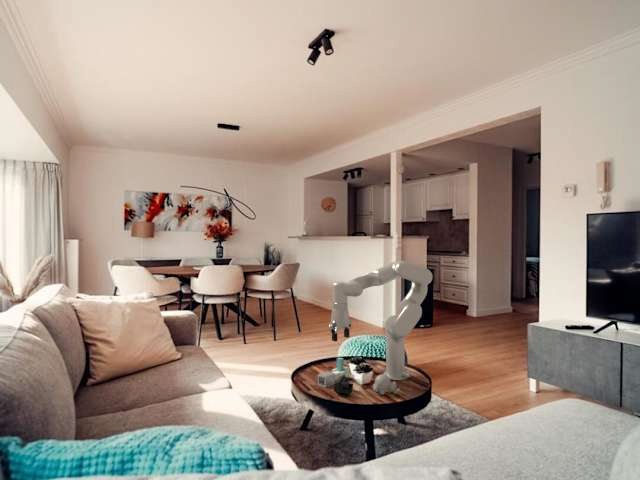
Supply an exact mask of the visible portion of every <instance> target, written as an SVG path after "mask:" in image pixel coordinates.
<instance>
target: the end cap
mask: <svg viewBox="0 0 640 480" xmlns="http://www.w3.org/2000/svg"><path fill="white" fill-rule="evenodd" d="M351 382H354V377H345V375H342V376H341V377H340V378H339V379H338V380H335V384H333V385H332V386H333V389H332V390H333V391H334V393H335V394H336V395H338V396H339V397H343V398H344V397H345V398H349V397H350V396H351V394H352V392H353V391H354V383H351Z"/></svg>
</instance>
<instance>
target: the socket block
mask: <svg viewBox="0 0 640 480" xmlns="http://www.w3.org/2000/svg"><path fill="white" fill-rule="evenodd" d="M350 370H351V369H350V367H348V366H344V371H342V372H340V377H341V376H342V375H345V377H350V376H351V371H350ZM335 371H337V367H336V368H333V369H331V372H335ZM337 380H338V379H337ZM337 380H336V381H337Z"/></svg>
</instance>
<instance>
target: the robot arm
mask: <svg viewBox="0 0 640 480" xmlns="http://www.w3.org/2000/svg"><path fill="white" fill-rule="evenodd" d="M398 278H402V279H404V280H407V281H410V282H411V287H410V289H409V291H408V293H407V294H406V296H405V297H404V298H403V300H402V301H401V302H400V303H399V305H398V308H397V310H398V312H399V315H396V314H395V315H390V316H388V317H387V318H386V320H385V322H384V329H385V358H386V359H385V360H386V361H385V364H386V366H385V367H386V368H385V371H384V372H383V373H382V374H384V375H387V376H388V377H389V379H390V381H391V380H392V381H404V380H407V379H408V378H411V376H412V375H411V374H412V372H410V371H407V368H406V367H405V354H406V353H405V348H406V347H405V345H406V344H405V338H406V337H407V336H408V335H409V334H410V333H411V331H412V330H413V329H414V327H415V326H416V325H417V323H418V322H419V321H420V319H421V318H422V314H423V309H422V306H421V304H422V303H423V301H424V300H425V299H426V296H427V293H428V289H429V288H428V285H429V284H430V283H431V282H432V281H433V273H432V272H431V270H430V269H428V268H425V267H422V266H419V265H417V264H413V263H411V262H408V261H405V260H395V261H393V262H391V263H388V264H386V265H384V266H381V267H379V268H378V269H375V270H372V271H370V272H368V273H365V274H362V275H360V276H356V277H355V278H353V279H351V280H349V281H348V282H347V283H346V282H343V281H336V282H333V284H332V310H331V315H330V316H331V317H330V323H329V324H328V329H329V331H330V333H331V341H332V342H338V333H337V332H338V330H342V329H343V337H344V338H347V339H349V338H350V330H351V327H352V322H353V320H351V319H350V314H349V308H348V305H349V304H348V297H355V298H357V297H359V296H361V295H362V294H363V291H364V290H365V289H369V288H372V287H379V286H384V285H386V284H388V283H390V282H392V281H394V280H397V279H398Z"/></svg>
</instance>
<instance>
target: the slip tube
mask: <svg viewBox="0 0 640 480" xmlns="http://www.w3.org/2000/svg"><path fill="white" fill-rule="evenodd" d="M336 368H337V371H335V372H332V371H331V372H332V373H335V381H337V379H339V378H340V372H342V371H344V358H343V357H337V358H336Z"/></svg>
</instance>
